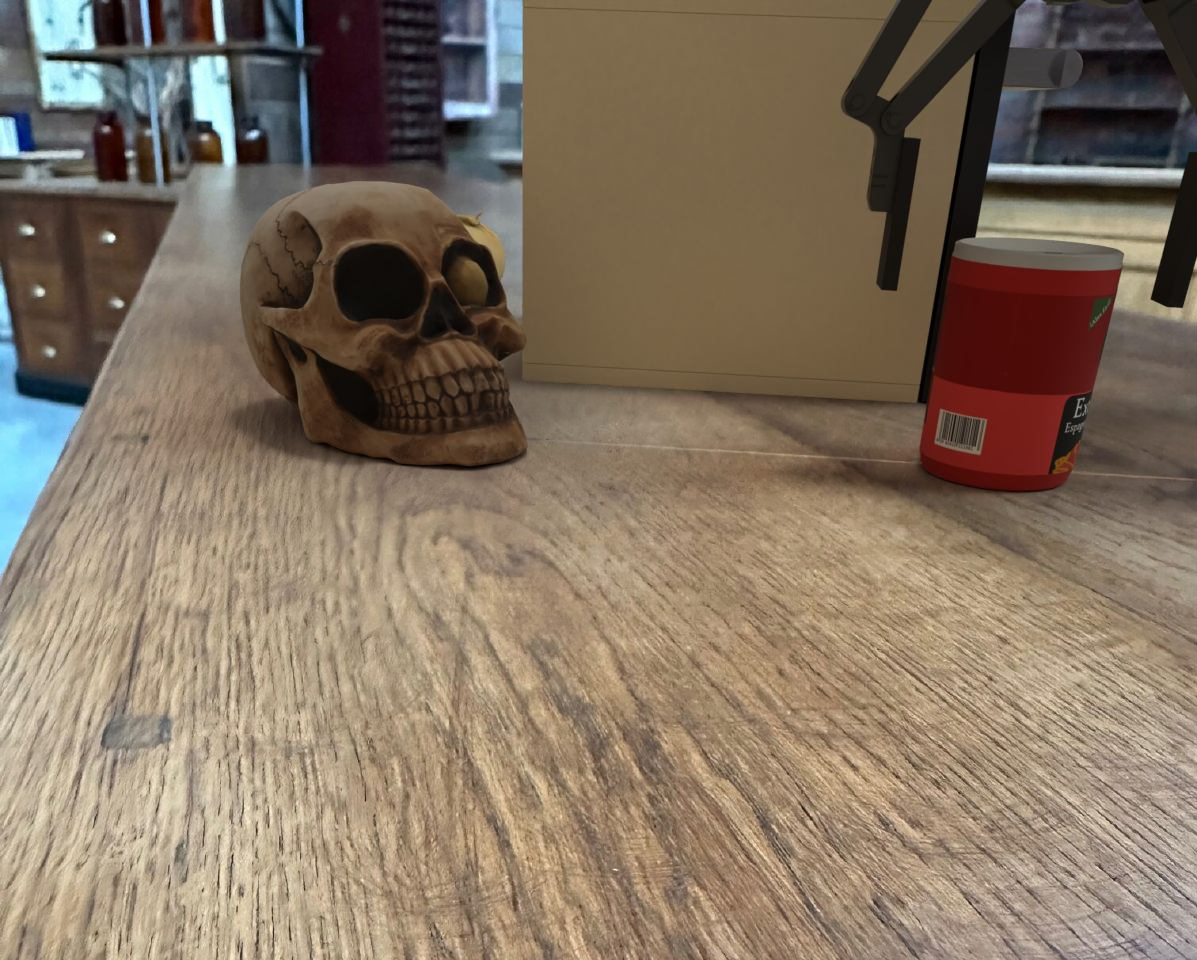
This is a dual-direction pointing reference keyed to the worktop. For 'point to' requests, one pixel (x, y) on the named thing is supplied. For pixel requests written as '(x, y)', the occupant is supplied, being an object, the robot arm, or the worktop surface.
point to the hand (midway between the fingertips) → (1024, 296)
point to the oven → (724, 197)
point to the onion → (485, 239)
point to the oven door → (989, 142)
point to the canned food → (1017, 360)
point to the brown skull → (383, 324)
